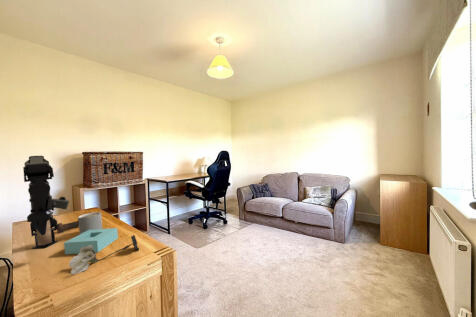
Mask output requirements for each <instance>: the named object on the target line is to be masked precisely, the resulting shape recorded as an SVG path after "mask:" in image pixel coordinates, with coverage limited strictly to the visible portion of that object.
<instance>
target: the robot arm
mask: <svg viewBox="0 0 476 317" xmlns="http://www.w3.org/2000/svg"><path fill="white" fill-rule="evenodd" d="M22 169H23V181H24V183H27V182H29V184H28V189H27V191H28V194H29V201H28V202H29V203H30V210H29V211H30V212H29V215H27V217H26V220H27V223H30V224H29V225H30V233H31V237H34V242H35V243H34V244H35V245H34V246H32V249H46V248H48V247H50V246H52V245H54V244H56V243H58V242H59V241H58V240H56V235H55V232H56V231H57V229H58V226H57V224H58V220H57V219H56V218H55V217H54V215H53V214H54V212H53V211H55V209H60V210H61V209H62V210H68V206H69V203H70V200H69V199H66V196H60V197H59V198H53V196H52V195H51V186H50V182H49V181H48V180H53V178H54V177H55V175H54V168H53V167H52V165H51V164H50V161H49V160H47V159H45V156H44V155H29V156H28V160H26V161H25V162H24V166H23V168H22ZM49 219H50V228H51V237H52V242H51V243H49V244H46V245H41V246H39V245H38V239H37V230H38V231H39V233H40V234H41V235H45V234H46V227H47V221H48V220H49ZM36 229H37V230H36Z"/></svg>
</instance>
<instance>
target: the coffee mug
mask: <svg viewBox="0 0 476 317" xmlns="http://www.w3.org/2000/svg"><path fill="white" fill-rule="evenodd" d="M102 220H103V218H102V212H101V211H94V212H88V213H84V214H81V215H79V216H78V217H77V221H78V223H79V227H78V231H79V233H78V235H80V234H82V233H84V232H86V231H88V230H94V229H103V222H102Z"/></svg>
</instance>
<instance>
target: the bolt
mask: <svg viewBox="0 0 476 317" xmlns="http://www.w3.org/2000/svg"><path fill="white" fill-rule="evenodd" d="M57 226H58V229H57V230H56V231H57V233H58V234H62V233H64V231H67V230H69V229H74V228H77V227H78V226H79V223H78V220H76V221H72V222H68V223H62V222H59V223H58V222H57Z"/></svg>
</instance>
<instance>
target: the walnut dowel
mask: <svg viewBox="0 0 476 317" xmlns="http://www.w3.org/2000/svg"><path fill="white" fill-rule="evenodd" d="M36 230H37V229H36ZM37 239H38V245H39V246H41V245H46V244H49V243H51V242H52V237H51V228H50V219H49V220H48V221H47V227H46V234H45V235H41V234H40V233H39V231H38V230H37Z"/></svg>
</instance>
